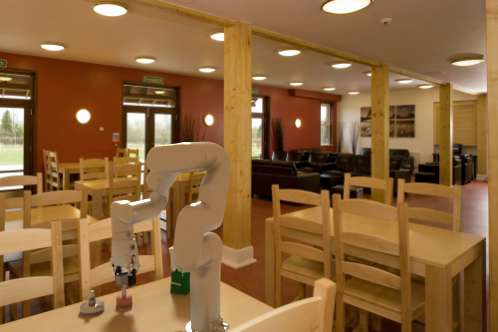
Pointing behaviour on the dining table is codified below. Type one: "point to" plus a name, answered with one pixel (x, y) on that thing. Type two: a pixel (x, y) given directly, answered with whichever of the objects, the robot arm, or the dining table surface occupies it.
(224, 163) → the robot arm
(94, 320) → the dining table surface
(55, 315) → the dining table surface
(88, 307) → the hub
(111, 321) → the dining table surface
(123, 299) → the stand
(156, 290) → the dining table surface
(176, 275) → the milk carton
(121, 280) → the grey short cylinder
